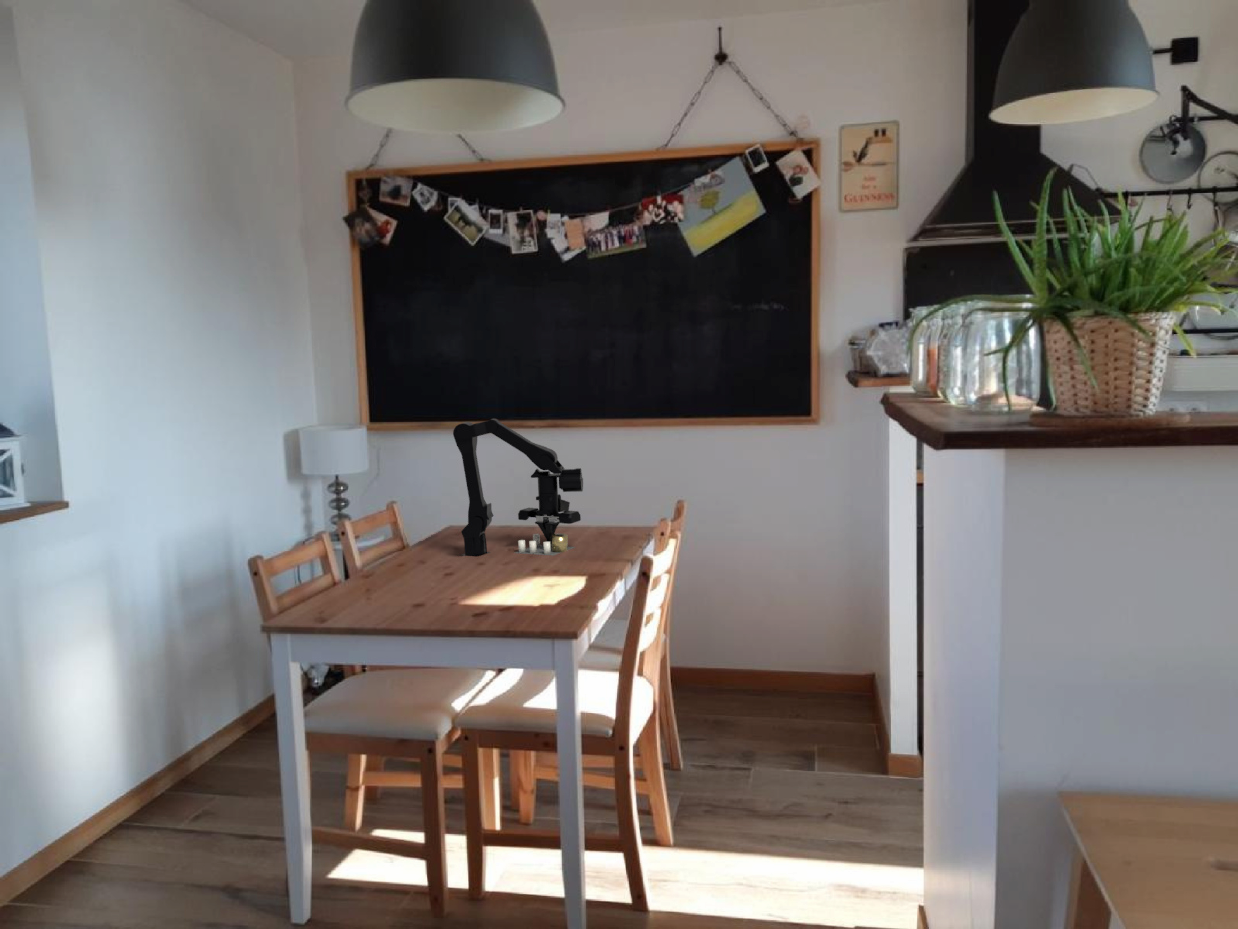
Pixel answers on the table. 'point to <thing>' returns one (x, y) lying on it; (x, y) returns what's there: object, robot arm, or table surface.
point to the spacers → (535, 543)
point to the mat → (542, 551)
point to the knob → (559, 542)
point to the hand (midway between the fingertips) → (550, 544)
